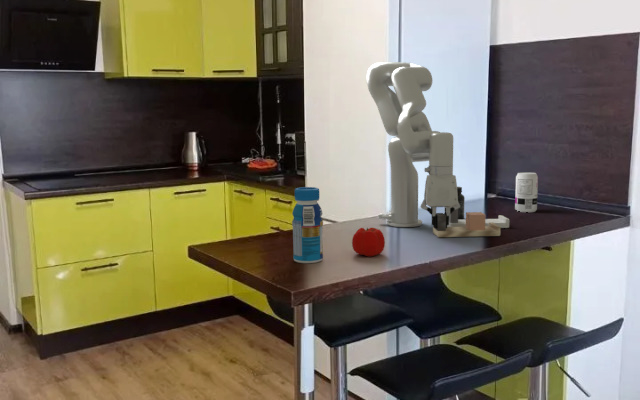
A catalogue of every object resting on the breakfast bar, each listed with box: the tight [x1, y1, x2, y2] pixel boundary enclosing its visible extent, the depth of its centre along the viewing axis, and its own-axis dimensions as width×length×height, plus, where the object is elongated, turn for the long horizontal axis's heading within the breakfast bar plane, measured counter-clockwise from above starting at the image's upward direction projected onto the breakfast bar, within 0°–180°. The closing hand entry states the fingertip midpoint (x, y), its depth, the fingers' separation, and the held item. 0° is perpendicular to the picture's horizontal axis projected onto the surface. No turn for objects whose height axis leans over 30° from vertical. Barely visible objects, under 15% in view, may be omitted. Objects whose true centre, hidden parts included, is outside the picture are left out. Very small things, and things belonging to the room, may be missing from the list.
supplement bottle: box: [457, 186, 466, 220], centre depth 231 cm, size 7×7×12 cm
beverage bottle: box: [291, 186, 324, 264], centre depth 171 cm, size 8×8×20 cm
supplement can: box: [514, 172, 539, 213], centre depth 247 cm, size 8×8×15 cm
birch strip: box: [432, 212, 502, 238], centre depth 204 cm, size 20×8×7 cm, turn 92°
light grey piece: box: [447, 209, 510, 229], centre depth 217 cm, size 20×8×7 cm, turn 92°
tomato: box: [351, 227, 386, 258], centre depth 178 cm, size 9×9×8 cm
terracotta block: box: [465, 211, 486, 230], centre depth 204 cm, size 5×5×5 cm
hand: (440, 227), depth 204 cm, fingers closed on birch strip, 2 cm apart
